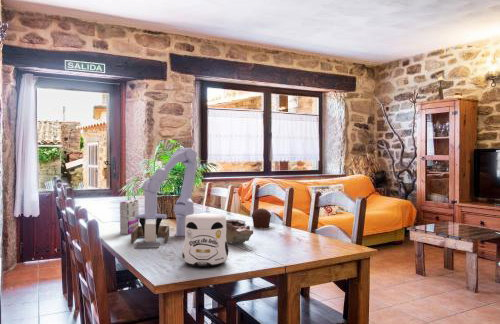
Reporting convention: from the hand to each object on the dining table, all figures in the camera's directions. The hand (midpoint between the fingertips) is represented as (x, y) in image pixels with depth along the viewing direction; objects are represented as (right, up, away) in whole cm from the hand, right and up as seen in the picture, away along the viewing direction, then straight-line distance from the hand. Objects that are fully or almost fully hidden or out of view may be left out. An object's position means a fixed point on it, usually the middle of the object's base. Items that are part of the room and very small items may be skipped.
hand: (150, 234), depth 189 cm
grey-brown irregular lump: (+42, -4, -3) cm, 42 cm away
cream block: (0, -3, 0) cm, 3 cm away
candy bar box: (-15, -3, +18) cm, 24 cm away
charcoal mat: (+2, -3, -11) cm, 12 cm away
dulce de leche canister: (+30, -5, -38) cm, 49 cm away
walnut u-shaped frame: (0, -3, +2) cm, 3 cm away
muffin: (+54, -3, +37) cm, 65 cm away
